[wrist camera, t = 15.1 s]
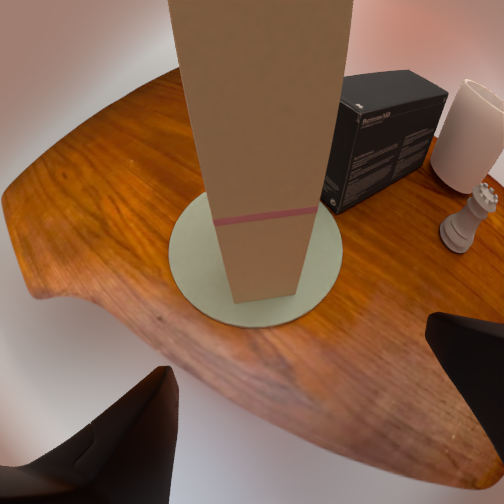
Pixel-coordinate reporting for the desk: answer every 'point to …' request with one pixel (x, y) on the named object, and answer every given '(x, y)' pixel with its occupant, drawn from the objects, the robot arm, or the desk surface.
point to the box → (379, 133)
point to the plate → (216, 282)
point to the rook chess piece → (468, 219)
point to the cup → (469, 137)
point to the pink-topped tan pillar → (262, 125)
